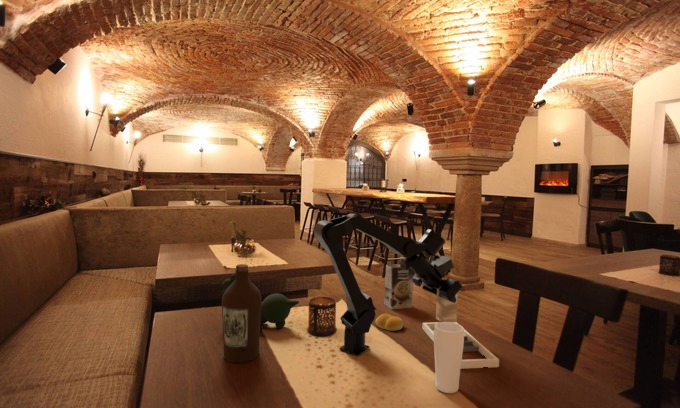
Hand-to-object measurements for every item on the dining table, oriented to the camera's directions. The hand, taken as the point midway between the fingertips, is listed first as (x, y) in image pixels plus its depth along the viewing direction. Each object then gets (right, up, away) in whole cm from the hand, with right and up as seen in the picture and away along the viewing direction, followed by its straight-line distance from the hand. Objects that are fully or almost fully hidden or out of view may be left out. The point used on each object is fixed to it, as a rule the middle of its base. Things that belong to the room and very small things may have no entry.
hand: (450, 299), depth 126 cm
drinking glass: (-10, -13, -32) cm, 36 cm away
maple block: (-1, -7, 0) cm, 7 cm away
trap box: (0, -12, -8) cm, 14 cm away
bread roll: (-19, -11, +7) cm, 23 cm away
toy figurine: (-61, -10, +4) cm, 62 cm away
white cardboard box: (-13, -9, +27) cm, 32 cm away
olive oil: (-62, -11, -17) cm, 66 cm away
